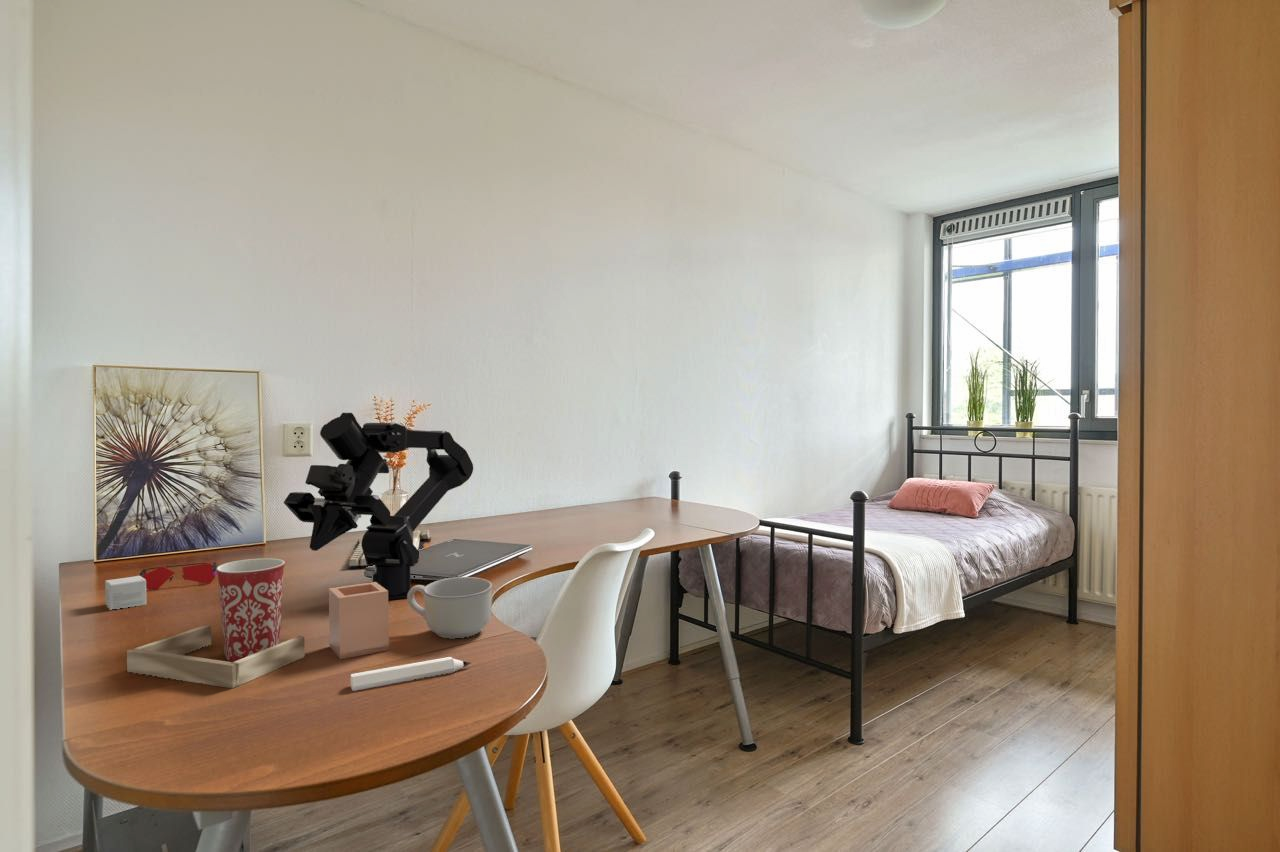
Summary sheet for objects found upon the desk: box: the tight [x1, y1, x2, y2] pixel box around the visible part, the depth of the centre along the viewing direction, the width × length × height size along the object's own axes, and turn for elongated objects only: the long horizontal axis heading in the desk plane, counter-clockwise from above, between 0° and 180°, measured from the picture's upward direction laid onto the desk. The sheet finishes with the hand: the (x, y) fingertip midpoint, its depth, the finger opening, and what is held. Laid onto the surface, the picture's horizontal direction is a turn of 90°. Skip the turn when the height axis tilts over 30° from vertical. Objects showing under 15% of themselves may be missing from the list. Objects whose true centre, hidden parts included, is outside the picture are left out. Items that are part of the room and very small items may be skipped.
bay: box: [126, 624, 306, 689], centre depth 104 cm, size 12×19×3 cm, turn 72°
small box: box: [104, 575, 147, 611], centre depth 136 cm, size 6×6×5 cm
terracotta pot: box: [328, 581, 390, 660], centre depth 111 cm, size 7×7×9 cm
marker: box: [350, 656, 472, 692], centre depth 99 cm, size 3×2×16 cm
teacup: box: [406, 576, 493, 640], centre depth 118 cm, size 14×11×8 cm
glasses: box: [138, 561, 218, 591], centre depth 155 cm, size 14×16×5 cm
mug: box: [216, 557, 286, 662], centre depth 110 cm, size 13×9×14 cm
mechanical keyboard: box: [347, 529, 432, 571], centre depth 184 cm, size 38×19×3 cm, turn 15°
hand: (312, 549), depth 121 cm, fingers closed
